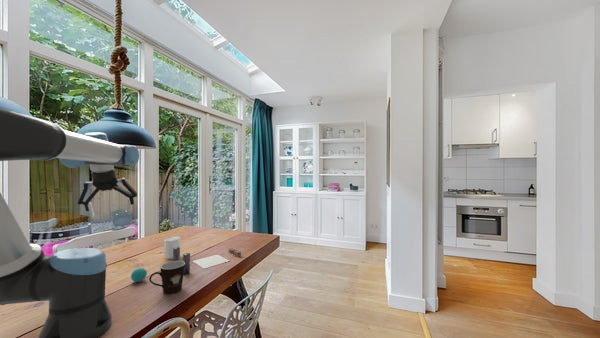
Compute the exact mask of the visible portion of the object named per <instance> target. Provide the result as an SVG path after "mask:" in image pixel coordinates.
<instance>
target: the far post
mask: <svg viewBox="0 0 600 338" xmlns="http://www.w3.org/2000/svg"><path fill="white" fill-rule="evenodd" d="M180 258H181V246H180V247H175V248H173V259H172V261H181V259H180Z"/></svg>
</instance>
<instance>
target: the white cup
mask: <svg viewBox="0 0 600 338" xmlns="http://www.w3.org/2000/svg"><path fill="white" fill-rule="evenodd" d="M163 244H164V245H163V246H164V258H165V259H167V260H173V248H175V247H180V248H181V237H179V236H173V237H167V238H165V239H164V243H163Z"/></svg>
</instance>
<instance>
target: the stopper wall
mask: <svg viewBox="0 0 600 338" xmlns="http://www.w3.org/2000/svg"><path fill="white" fill-rule="evenodd" d="M229 253H231V254H233V255H232V256H234V255H235V256H234V257H236V256H237V257H236V258H240V257H239V256H241V257H242V251H240V250H237V249H235V248H228V254H229ZM231 254H230V255H231Z"/></svg>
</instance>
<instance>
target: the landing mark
mask: <svg viewBox="0 0 600 338" xmlns="http://www.w3.org/2000/svg"><path fill="white" fill-rule="evenodd" d="M228 261H229V262H230V259H227V258H225V257H223V256H221V255H219V254H215V255H210V256H206V257H202V258H199V259H196V260H192V262H193V264H195V265H197V266H198V267H200V268H202V269H203V270H205V269H208V268H211V267H214V266H215V267H216V266H218V265H222V264H225V262H226V263H228Z"/></svg>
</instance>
